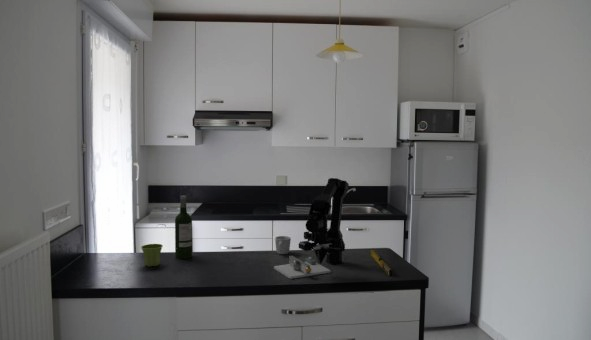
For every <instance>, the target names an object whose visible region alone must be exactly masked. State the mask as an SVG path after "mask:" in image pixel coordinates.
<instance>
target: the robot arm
mask: <svg viewBox="0 0 591 340" xmlns="http://www.w3.org/2000/svg"><path fill="white" fill-rule="evenodd" d="M349 185H350V184H349V183H348V182H347V180H343V179H342V180H341V179H340V178H335V177H334V178H333V177H330V178H328V180H327V183H326V186H325V187H324V189H323V190H322V192H321V194H319V195H317V196H316V197H314V199H313V200H312V201H311V205H310V209H309V212H308V216H310V217H309V219H308V220H306V223H305V228H306V231H303V239H304V241H303V240H302V241H299V243H298V249H300V250H302V251H304V252H308V251H312V250H313V252H314V254H315V256H316V259H317V262H318V263H317V264H319V265H322V263H323V261H324V259H325V257H326V260H325V262H327V263H328V264H330V265H333V266H334V265H340V264H344V261H343V252H345V251H346V243H345V242H344V239H343V233H342V232H341V222H342V220H341V219H342V213H343V212H342V211H343V203H344V198H346V196H347V195H348V191H349V187H350V186H349ZM331 201H332V204H331ZM330 212H331V215H330V225H329V229H328V216H329V214H330Z"/></svg>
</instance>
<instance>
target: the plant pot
mask: <svg viewBox="0 0 591 340" xmlns="http://www.w3.org/2000/svg"><path fill="white" fill-rule="evenodd" d="M162 248H163V244H161V243H149V244H144V245H141V247H140V249H141V250H142V253H143V259H144V265H145V266H146V267H152V266H153V267H156V266H160V262H161V253H162Z"/></svg>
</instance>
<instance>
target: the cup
mask: <svg viewBox="0 0 591 340" xmlns="http://www.w3.org/2000/svg"><path fill="white" fill-rule="evenodd" d="M291 239H292V238H291V237H290V236H288V235H287V236H286V235H279V236H276V237H275V238H274V241H275V252H276V253H277V254H278V255H288V254H289V253H290V249H291V248H290V247H291Z"/></svg>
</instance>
